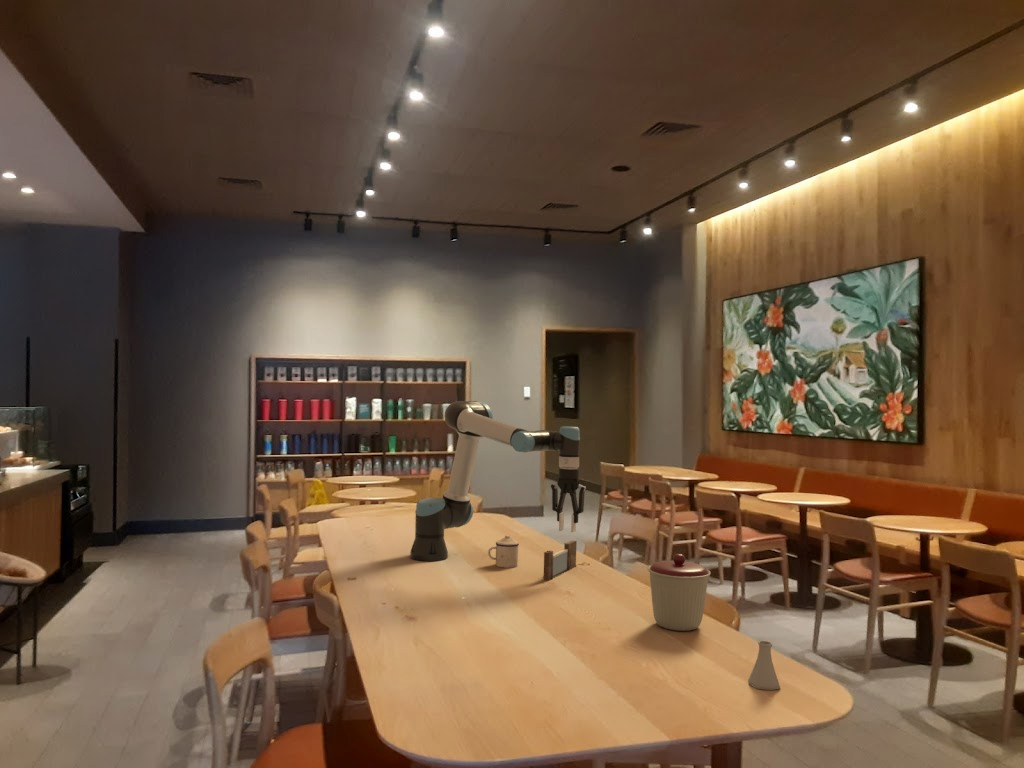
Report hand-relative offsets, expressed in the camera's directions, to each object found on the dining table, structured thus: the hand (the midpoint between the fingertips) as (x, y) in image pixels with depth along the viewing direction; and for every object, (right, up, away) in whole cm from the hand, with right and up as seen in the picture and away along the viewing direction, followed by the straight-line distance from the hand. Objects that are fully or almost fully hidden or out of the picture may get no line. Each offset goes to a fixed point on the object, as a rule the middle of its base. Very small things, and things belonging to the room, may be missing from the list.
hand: (567, 530), depth 283 cm
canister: (+28, -17, -60) cm, 68 cm away
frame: (-2, -17, +4) cm, 17 cm away
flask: (+39, -16, -105) cm, 113 cm away
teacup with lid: (-24, -16, +14) cm, 32 cm away
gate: (-3, -16, +3) cm, 17 cm away
